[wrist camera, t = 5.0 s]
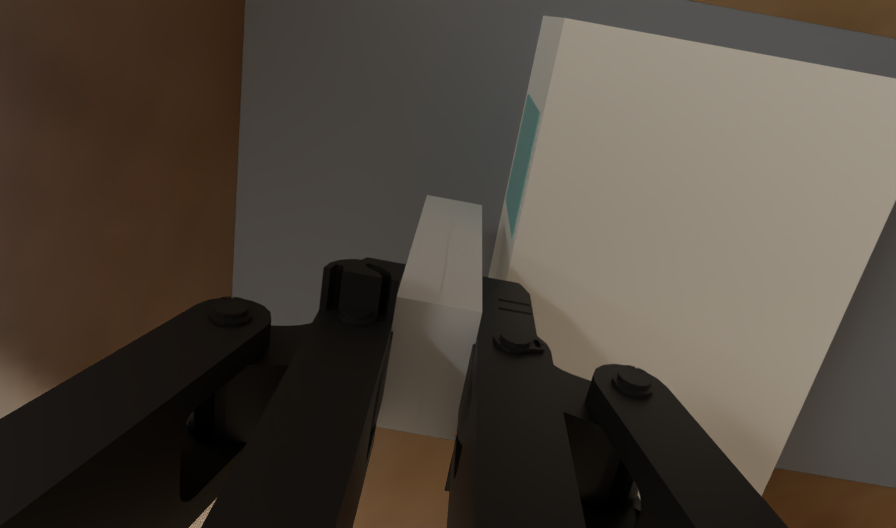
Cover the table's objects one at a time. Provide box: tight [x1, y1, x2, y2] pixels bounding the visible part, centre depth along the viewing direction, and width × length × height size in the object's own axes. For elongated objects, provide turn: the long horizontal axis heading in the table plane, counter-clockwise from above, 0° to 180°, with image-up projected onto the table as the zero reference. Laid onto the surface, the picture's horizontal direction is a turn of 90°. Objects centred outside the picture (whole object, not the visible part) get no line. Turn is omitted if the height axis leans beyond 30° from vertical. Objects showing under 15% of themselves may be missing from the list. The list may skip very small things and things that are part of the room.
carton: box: [488, 16, 896, 500], centre depth 17 cm, size 8×12×4 cm, turn 170°
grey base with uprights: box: [232, 0, 896, 488], centre depth 16 cm, size 30×14×12 cm, turn 80°
